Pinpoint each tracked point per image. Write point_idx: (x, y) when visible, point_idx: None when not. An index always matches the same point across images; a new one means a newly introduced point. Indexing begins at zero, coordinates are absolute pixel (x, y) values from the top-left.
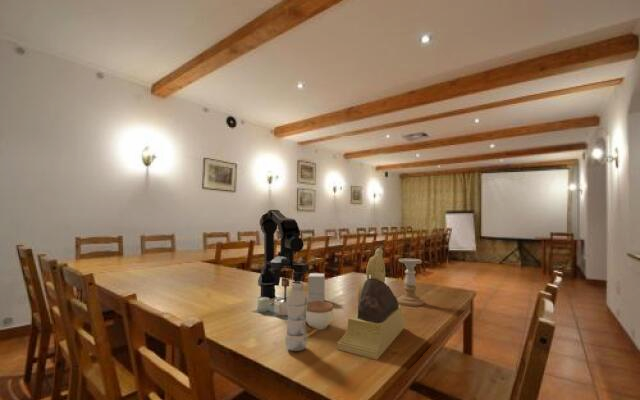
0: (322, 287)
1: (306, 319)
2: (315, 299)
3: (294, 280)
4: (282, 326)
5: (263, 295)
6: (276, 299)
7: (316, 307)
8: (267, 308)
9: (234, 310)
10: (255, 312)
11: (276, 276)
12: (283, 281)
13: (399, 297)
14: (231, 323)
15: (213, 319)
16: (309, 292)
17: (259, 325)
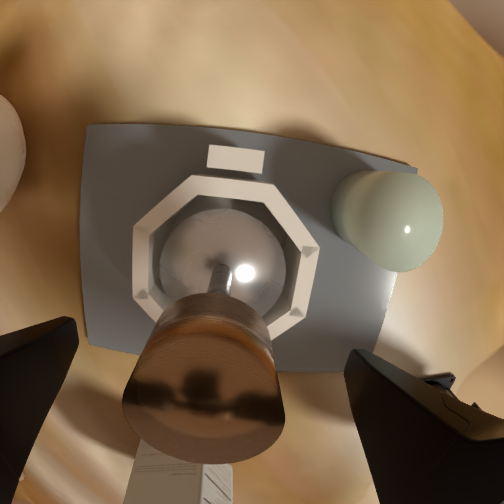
0: (129, 495)
1: (3, 97)
2: None
3: (2, 354)
4: (132, 56)
5: (441, 390)
6: (300, 249)
7: None
8: (340, 199)
9: (487, 181)
10: (391, 163)
11: (420, 425)
12: (200, 335)
13: None
14: (395, 11)
15: (477, 50)
16: (195, 472)
17: (256, 14)
